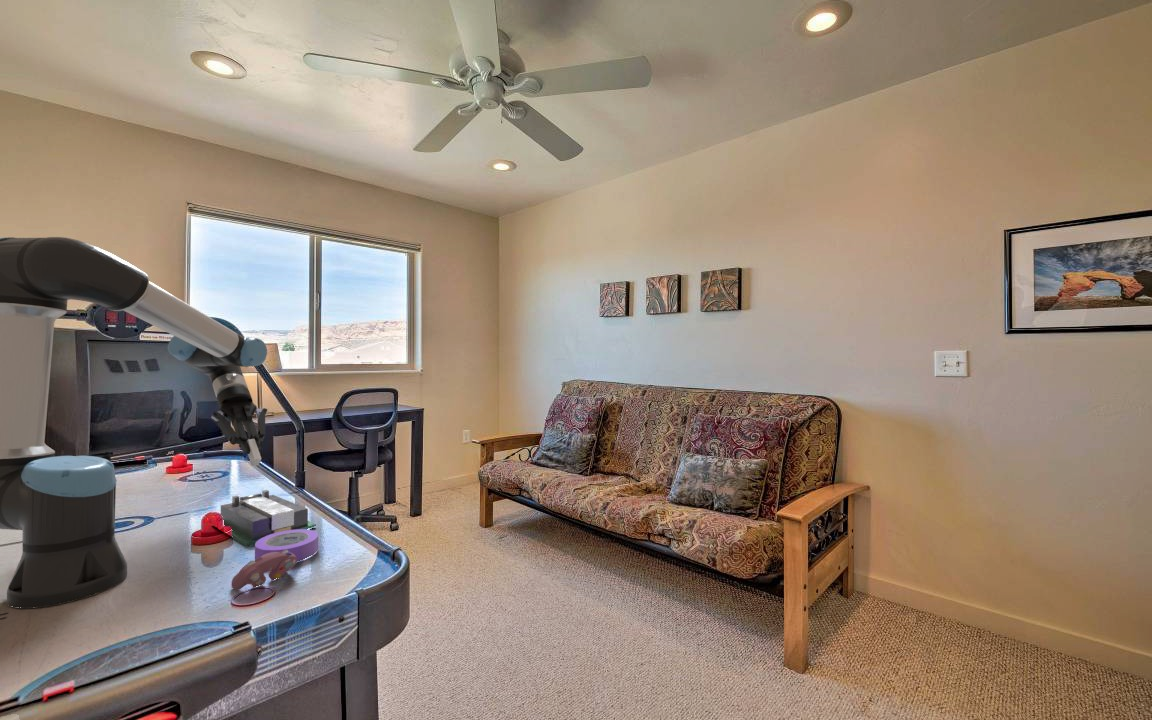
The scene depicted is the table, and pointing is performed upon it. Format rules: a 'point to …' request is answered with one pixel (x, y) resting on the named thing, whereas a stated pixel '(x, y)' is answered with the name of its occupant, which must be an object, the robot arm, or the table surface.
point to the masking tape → (289, 543)
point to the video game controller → (264, 569)
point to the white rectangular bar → (270, 510)
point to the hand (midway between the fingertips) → (256, 462)
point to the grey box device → (259, 519)
